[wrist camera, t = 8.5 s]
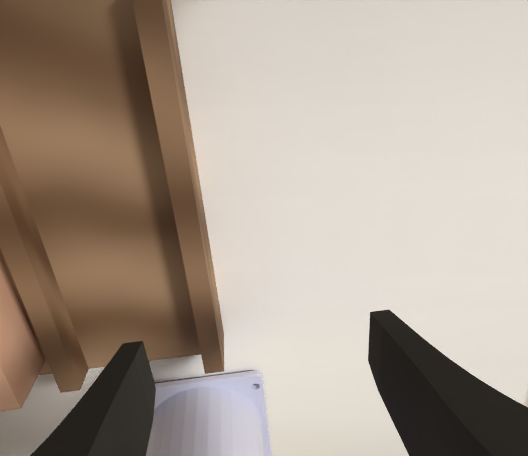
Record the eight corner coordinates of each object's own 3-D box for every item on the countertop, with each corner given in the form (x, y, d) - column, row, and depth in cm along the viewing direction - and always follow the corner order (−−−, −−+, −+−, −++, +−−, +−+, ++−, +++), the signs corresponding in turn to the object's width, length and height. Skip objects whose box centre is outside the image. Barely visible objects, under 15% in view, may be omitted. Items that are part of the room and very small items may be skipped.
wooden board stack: (223, 333, 24) (224, 371, 22) (-54, 368, 24) (-89, 412, 21) (168, -17, 17) (157, -26, 14) (-254, 18, 16) (-351, 16, 13)
